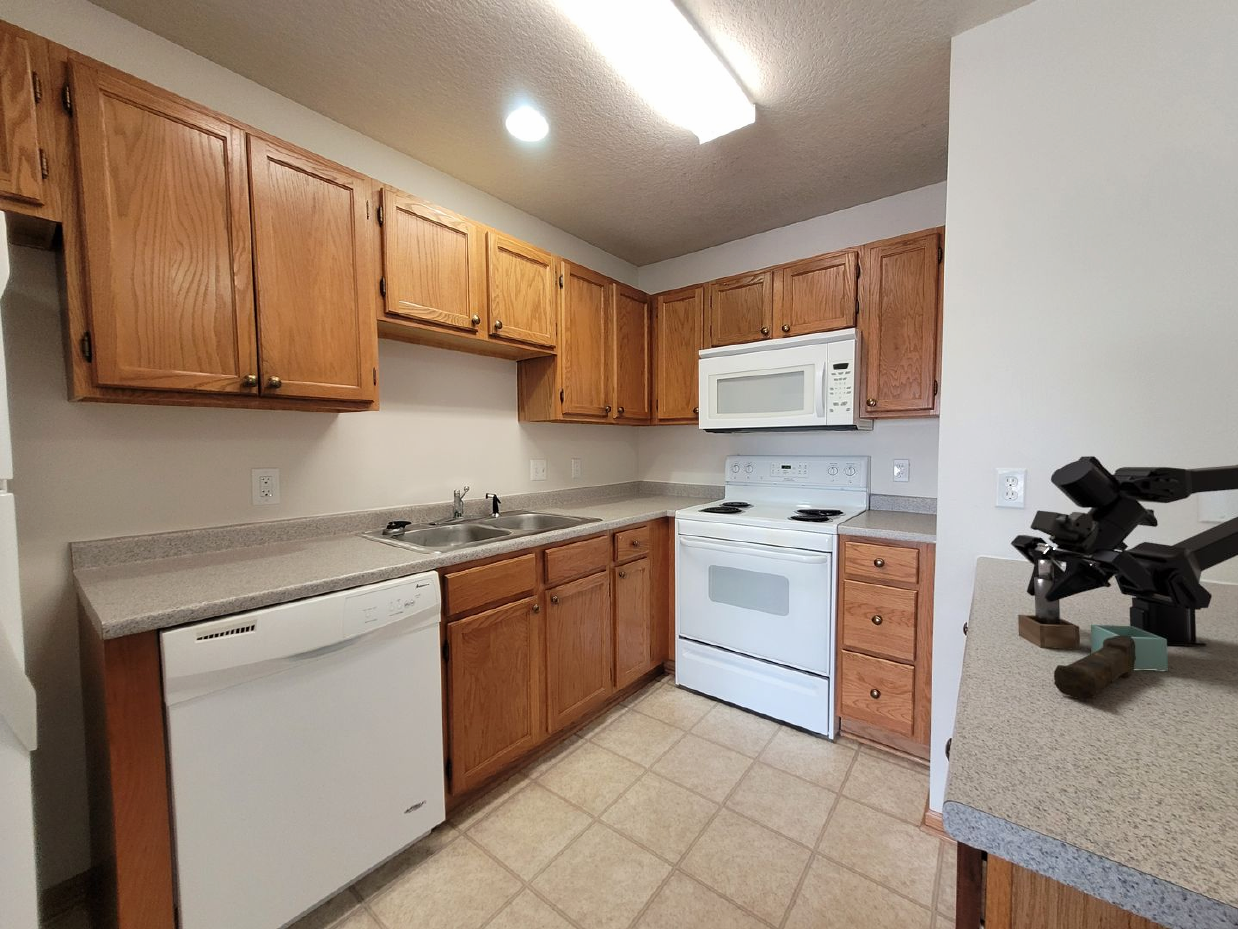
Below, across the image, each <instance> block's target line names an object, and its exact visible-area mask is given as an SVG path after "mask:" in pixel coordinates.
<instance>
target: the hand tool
mask: <svg viewBox="0 0 1238 929" xmlns="http://www.w3.org/2000/svg"><path fill="white" fill-rule="evenodd" d="M1135 660H1136V656H1135V642H1134V640H1133V638H1131V637H1130V636H1122V635H1119V636H1115V637H1111V638H1107V639H1105V640H1104V641H1103V647H1102V648H1101V649H1100V650H1098V651H1096V652H1094V653H1092V654H1091V653H1090V654H1088V655H1086V656H1084V657H1082V658H1080V659H1078V660H1076V661H1074V662H1072V663H1070V664H1068V665H1062V664H1058V665H1056V667H1055V670H1054V671H1053V680H1054V682H1053V684H1054V685H1055V687H1056V688H1057V689H1058V690H1059V692H1060V693H1061V694H1063V695H1065V696H1069V697H1071V698H1074V699H1079V700H1086V701H1090V700H1093V699H1094V698H1095V697H1096V696H1097V694H1098V692H1099V691H1100V689H1102V688H1104V687H1105V686H1106V685H1107V684H1109V683H1110V684H1112V683H1113V681H1114V680H1116V679H1118V677H1131V675H1132V674H1133V672H1134V671H1135V670H1134V664H1135Z"/></svg>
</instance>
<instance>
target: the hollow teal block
mask: <svg viewBox="0 0 1238 929" xmlns="http://www.w3.org/2000/svg"><path fill="white" fill-rule="evenodd" d="M1119 635H1122V636H1130V637H1131V638H1133V640H1134V642H1135V656H1136V660H1135V664H1134V669H1157V670H1165V671H1168V670H1169V668H1168V645H1167V639H1165V638H1162V637H1159V636H1157V635H1154V634H1152V633H1149V632H1146V631H1144V630H1141V629H1139V628H1136V627H1134V626H1130V625H1111V624H1110V625H1107V624H1105V625H1104V624H1102V625H1101V624H1090V650H1091V653H1090V654H1092V653H1094V652H1096V651H1098V650H1100V649H1101V648H1102V647H1103V641H1104V640H1105V639H1107V638H1111V637H1115V636H1119Z"/></svg>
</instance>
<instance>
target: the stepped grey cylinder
mask: <svg viewBox="0 0 1238 929" xmlns="http://www.w3.org/2000/svg"><path fill="white" fill-rule="evenodd" d="M1038 564H1039V577H1034V590H1035V595H1034V615H1035V621H1036V622H1038V623H1040V624H1048V625H1060V618H1061V605H1060V604H1061V603H1060V602H1061V601H1060V599H1059V600H1056V601H1053V602H1050V601H1048V600H1047V599H1046V598H1045V595H1046V594H1047V592H1048V591H1049V589H1050V588H1051V587H1052V586H1053V584H1054V583H1055V582H1056V581H1057V579H1055V578H1054V571H1053V561H1052V560H1042V559H1041V560H1038Z"/></svg>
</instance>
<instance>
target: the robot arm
mask: <svg viewBox="0 0 1238 929" xmlns="http://www.w3.org/2000/svg"><path fill="white" fill-rule="evenodd" d="M1050 481H1051V483H1052V484H1053V485H1054V486H1055V487H1056V488H1057V489H1058V490H1059V491H1061V492H1062V494H1064V495H1065V496H1066V497H1067V498H1068V499H1069V500H1071V502H1072V503H1073V504H1074V505H1075V506H1077V507H1078V508H1083V509H1087V508H1089V511H1087V512H1082V511H1081V512H1080V511H1079V512H1078V511H1073V512H1070V513H1069V514H1066V513H1060V512H1056V511H1055V512H1054V511H1047V510H1046V511H1045V510H1036V513H1035V515H1034V518H1033V520H1032V522H1031V525H1030V529H1031V530H1034V531H1038V532H1042V533H1043V534H1045V535H1048V536H1049V537H1048V540H1049V541H1050V542H1051V543H1053V544H1055V545H1056V547H1053V546H1052V545H1051V544H1049V543H1048V542H1046V541H1045V540H1044V538H1042V537H1038V536H1032V535H1027V534H1017V535H1016V537H1015V538H1014V539H1013V540H1012V541H1011V543H1010V545H1011V546H1012V547H1013V548H1015V549H1016V550H1017V551H1018V552H1019V553H1020V555H1021V556H1023V557H1024V558H1025V559H1026V560H1027V561H1028V562H1030V563H1031V564H1032V565H1033V569H1032V572H1031V577H1030V579H1029V583H1028V585H1027V589H1026V593H1027V594H1028V595H1029V596H1031V597H1035V590H1034V577H1039V564H1038V560H1041V559H1042V560H1052V561H1053V571H1054V578H1055V579H1057V581H1056V582H1055V583H1054V584H1053V586H1052V587H1051V588H1050V589H1049V591H1048V592H1047V594H1046V595H1045V598H1046V599H1047V600H1048V601H1050V602H1053V601H1056V600H1059V601H1060V600H1061V599H1064V598H1068V597H1071V596H1074V595H1078V594H1081V593H1085V592H1088V591H1092V590H1095V589H1099V588H1110V587H1111V586H1112V584H1111V582H1109V581H1110V580H1111V579H1112V578H1113V577H1114V578H1115V580H1116V583H1117V586H1118V588H1119V590H1120V593H1121V594H1122V595H1125V596H1127V595H1128V596H1130V597H1131V606H1129V626H1134V627H1136V628H1139V629H1141V630H1144V631H1146V632H1149V633H1152V634H1154V635H1157V636H1159V637H1162V638H1165V639H1167V646H1168V645H1169V646H1171V645H1173V646H1174V645H1175V646H1199V647H1205V646H1206V647H1207V642H1205V641H1202V640H1200V639H1198V638H1197V627H1196V626H1197V625H1196V624H1197V621H1196V610H1197V611H1198V610H1199V611H1200V610H1202V609H1208V608H1209V606H1210V604H1211V600H1212V598H1213V596H1212V594H1211V593H1210V592H1209V591H1208V590H1207V589H1206V588H1205V587H1204V586H1203V585H1201V584H1200V582H1201V576H1202V572H1204V571H1205V570H1208V569H1210V568H1213V567H1214V566H1215V567H1216V566H1217V565H1219V564H1222V563H1224V562H1227V561H1229V560H1231V559H1233V558H1235V557H1237V556H1238V516H1236V517H1235V516H1234V517H1233V518H1231V519H1229V520H1227V521H1224V522H1221V523H1220V524H1218V525H1216V526H1213V527H1211V528H1209V529H1206V530H1204V531H1202V532H1199V533H1198V534H1195V535H1193V536H1191V537H1188V538H1187V539H1184V540H1181V541H1179V542H1177V543H1175V544H1172V545H1169V544H1161V543H1157V542H1156V543H1155V542H1150V541H1143V542H1140V543H1138V544H1136V545H1135V546H1134V547H1131V548H1130V549H1129V546H1128V545H1127V543H1125V542H1124V541H1125V540H1126V539H1127V538H1128V536H1129V535H1130V534H1132V532H1133V531H1134V530H1135V529H1136V528H1137V527H1138V526H1142V527H1143V526H1145V527H1152V528H1156V527H1158V524H1159V523H1158V519H1157V518H1156V516H1155V510H1154V509H1150V508H1146V507H1145V506H1143V505H1142V504H1141V503H1140V502H1142V503H1143V502H1145V503H1156V504H1157V503H1158V504H1169V503H1172V502H1178V501H1181V500H1184V499H1188V498H1189V497H1190V496H1191V495H1194V494H1199V493H1207V492H1208V493H1209V492H1222V491H1223V492H1224V491H1233V490H1238V464H1235V465H1222V466H1221V465H1220V466H1210V467H1209V466H1208V467H1200V468H1199V467H1197V468H1179V467H1167V466H1163V467H1162V466H1124V467H1120V468H1117V469H1115V471H1114V473H1111V472H1110V471H1109V470H1108V469H1107V468H1106V467H1105V466H1103V464H1102V463H1101V462H1100V460H1099V459H1098V458H1097V457H1095V456H1094V455H1092V456H1091V455H1090V456H1089V455H1088V456H1087V455H1086V456H1084V455H1083V456H1081V457H1079V459H1077V460H1075V461H1072V462H1069V463H1067V464H1065V465H1064V466H1062V467H1061V468H1057V469H1056V470H1055V471H1054V472H1053V473H1052V475H1051V478H1050ZM1127 548H1128V549H1127ZM1063 563H1064V564H1065V568H1064V569H1065V570H1063V569H1062V568H1061V567H1062V566H1063V565H1062V564H1063Z"/></svg>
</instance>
